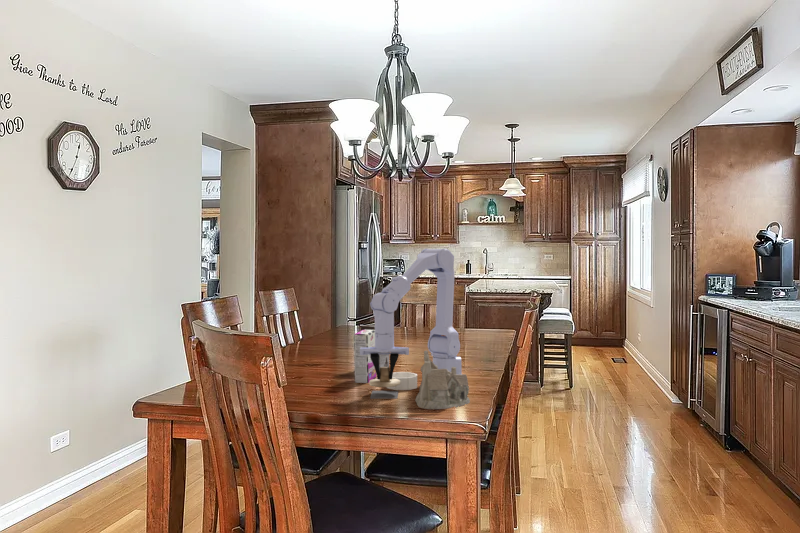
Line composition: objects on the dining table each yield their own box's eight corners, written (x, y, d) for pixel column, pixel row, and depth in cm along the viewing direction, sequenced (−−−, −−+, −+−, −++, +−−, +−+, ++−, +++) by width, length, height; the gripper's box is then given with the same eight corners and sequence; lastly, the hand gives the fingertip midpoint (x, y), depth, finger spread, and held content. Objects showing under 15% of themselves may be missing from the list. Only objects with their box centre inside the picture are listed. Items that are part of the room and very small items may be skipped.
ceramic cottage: (414, 410, 161) (418, 354, 162) (415, 398, 178) (418, 347, 178) (472, 414, 161) (476, 358, 161) (468, 401, 177) (471, 351, 177)
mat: (398, 392, 183) (398, 390, 183) (397, 399, 173) (397, 398, 173) (372, 391, 184) (372, 390, 184) (369, 399, 174) (369, 398, 174)
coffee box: (359, 369, 220) (359, 325, 220) (369, 366, 226) (369, 324, 225) (380, 371, 215) (380, 327, 215) (390, 369, 221) (390, 325, 220)
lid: (400, 380, 183) (400, 364, 183) (399, 387, 174) (399, 370, 174) (370, 380, 183) (370, 364, 183) (368, 387, 174) (368, 370, 174)
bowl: (417, 384, 194) (417, 372, 194) (417, 391, 184) (417, 378, 184) (387, 384, 194) (387, 372, 194) (386, 391, 185) (386, 378, 185)
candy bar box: (362, 376, 207) (362, 329, 206) (376, 377, 206) (376, 329, 205) (353, 383, 196) (353, 333, 195) (368, 384, 195) (368, 333, 194)
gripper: (358, 335, 174) (359, 381, 175) (408, 334, 174) (409, 381, 174) (360, 331, 181) (361, 376, 182) (408, 331, 181) (409, 376, 181)
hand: (384, 378), depth 178 cm, fingers closed on lid, 3 cm apart
